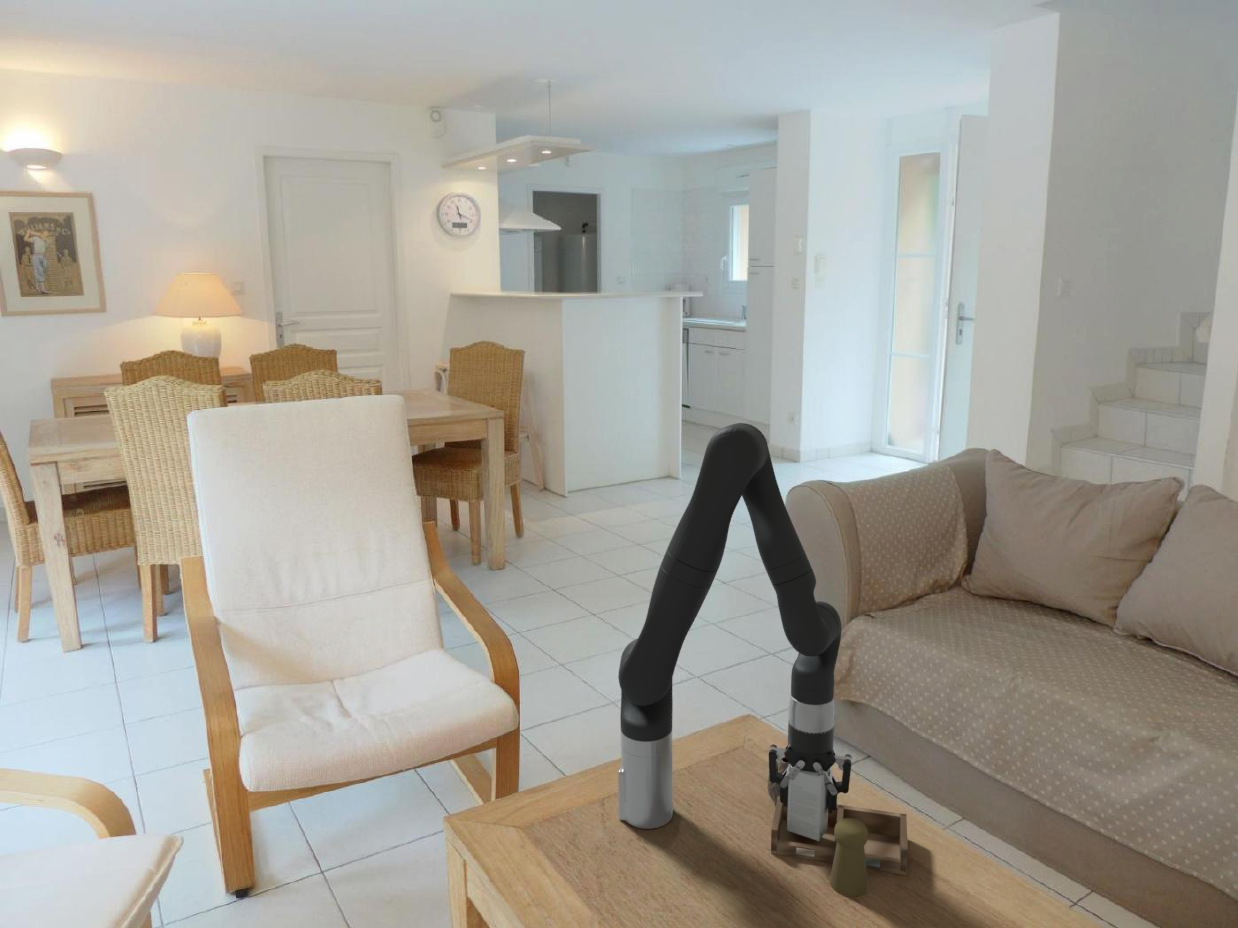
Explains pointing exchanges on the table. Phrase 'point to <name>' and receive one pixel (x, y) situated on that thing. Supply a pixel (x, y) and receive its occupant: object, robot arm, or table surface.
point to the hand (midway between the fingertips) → (808, 806)
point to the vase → (774, 787)
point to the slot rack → (881, 847)
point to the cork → (849, 858)
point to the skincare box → (808, 805)
